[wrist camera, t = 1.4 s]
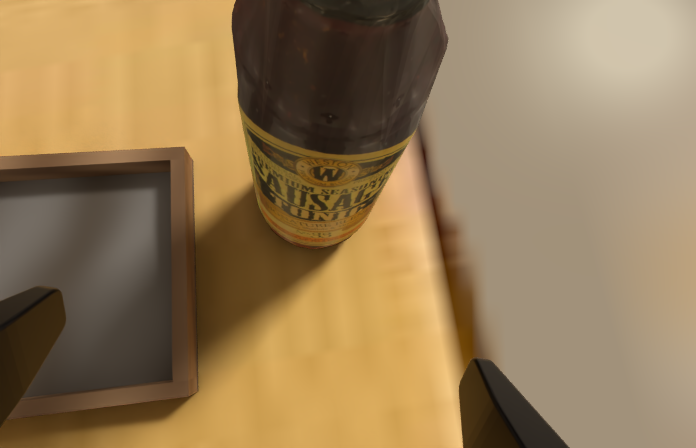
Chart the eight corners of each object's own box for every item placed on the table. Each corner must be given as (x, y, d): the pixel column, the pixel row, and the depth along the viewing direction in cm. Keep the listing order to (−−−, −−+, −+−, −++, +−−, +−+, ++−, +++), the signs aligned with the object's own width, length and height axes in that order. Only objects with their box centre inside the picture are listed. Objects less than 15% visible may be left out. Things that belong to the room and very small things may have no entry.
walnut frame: (193, 160, 24) (184, 146, 22) (198, 390, 21) (188, 396, 19) (-49, 174, 22) (-80, 160, 21) (-80, 426, 19) (-119, 435, 18)
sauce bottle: (253, 249, 23) (11, -252, 4) (267, 147, 25) (145, -518, 6) (372, 259, 23) (650, -148, 5) (376, 158, 25) (585, -425, 6)
